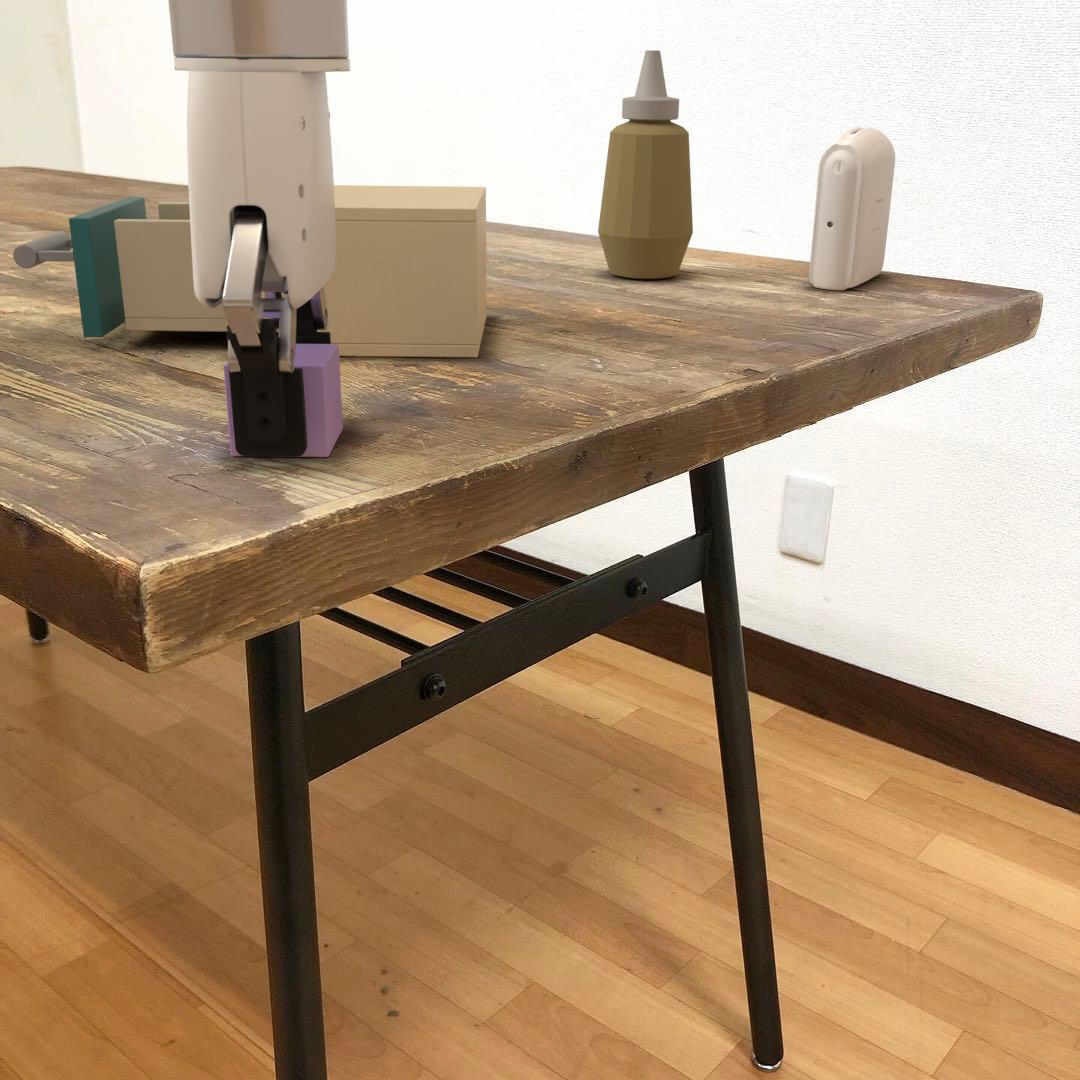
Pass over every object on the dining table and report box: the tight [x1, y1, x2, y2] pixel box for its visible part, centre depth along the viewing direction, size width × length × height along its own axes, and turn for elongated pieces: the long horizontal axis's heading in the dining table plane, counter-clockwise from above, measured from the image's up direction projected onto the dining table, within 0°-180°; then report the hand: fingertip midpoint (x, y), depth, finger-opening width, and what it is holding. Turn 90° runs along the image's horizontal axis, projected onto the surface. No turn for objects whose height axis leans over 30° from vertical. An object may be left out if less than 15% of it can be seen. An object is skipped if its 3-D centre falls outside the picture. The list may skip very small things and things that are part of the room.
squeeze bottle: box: [597, 49, 694, 280], centre depth 103 cm, size 8×8×18 cm
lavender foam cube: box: [223, 344, 344, 458], centre depth 60 cm, size 5×5×4 cm
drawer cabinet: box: [261, 184, 488, 358], centre depth 81 cm, size 15×13×9 cm
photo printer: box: [808, 126, 896, 291], centre depth 102 cm, size 10×4×12 cm, turn 149°
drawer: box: [12, 196, 229, 338], centre depth 81 cm, size 18×11×7 cm, turn 90°
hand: (288, 427), depth 60 cm, fingers open, 6 cm apart
